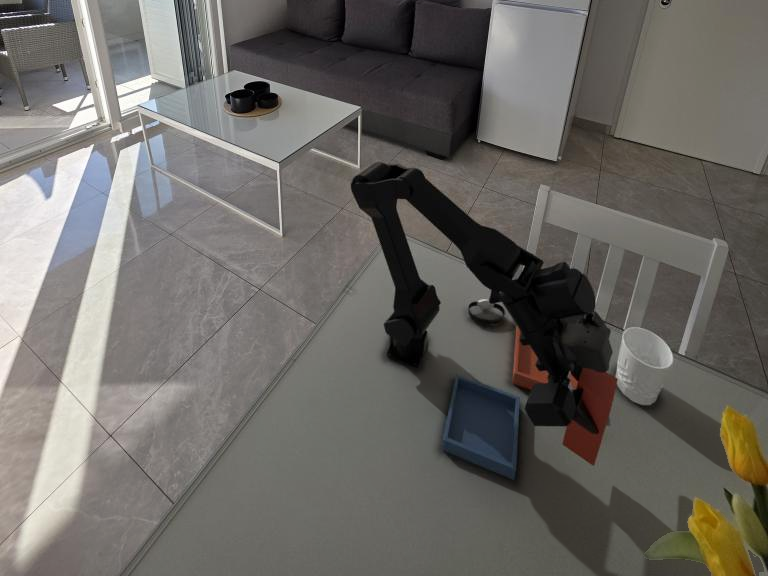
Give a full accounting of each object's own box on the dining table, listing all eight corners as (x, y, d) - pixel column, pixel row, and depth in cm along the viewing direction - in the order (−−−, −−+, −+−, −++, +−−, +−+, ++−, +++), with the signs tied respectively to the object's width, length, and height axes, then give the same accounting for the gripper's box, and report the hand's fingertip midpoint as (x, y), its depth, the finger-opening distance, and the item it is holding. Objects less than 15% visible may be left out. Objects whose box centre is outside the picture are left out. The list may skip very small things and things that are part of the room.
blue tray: (442, 450, 69) (443, 439, 68) (455, 383, 79) (456, 373, 78) (514, 480, 65) (516, 469, 65) (517, 406, 75) (519, 396, 75)
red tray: (512, 383, 79) (514, 373, 78) (516, 324, 91) (518, 314, 90) (590, 410, 75) (592, 400, 74) (583, 345, 87) (586, 335, 86)
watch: (501, 309, 94) (503, 296, 93) (505, 328, 90) (507, 315, 89) (466, 306, 95) (468, 293, 94) (468, 324, 90) (470, 311, 89)
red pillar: (562, 444, 65) (577, 383, 61) (569, 418, 68) (584, 359, 64) (593, 466, 62) (612, 404, 58) (600, 438, 66) (618, 378, 62)
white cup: (667, 414, 75) (681, 373, 72) (619, 403, 76) (630, 363, 73) (650, 370, 82) (662, 331, 79) (606, 361, 84) (616, 323, 80)
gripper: (563, 362, 53) (644, 487, 50) (596, 271, 67) (660, 364, 65) (495, 369, 60) (564, 479, 57) (538, 285, 74) (594, 370, 72)
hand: (599, 418), depth 62 cm, fingers closed on red pillar, 4 cm apart
